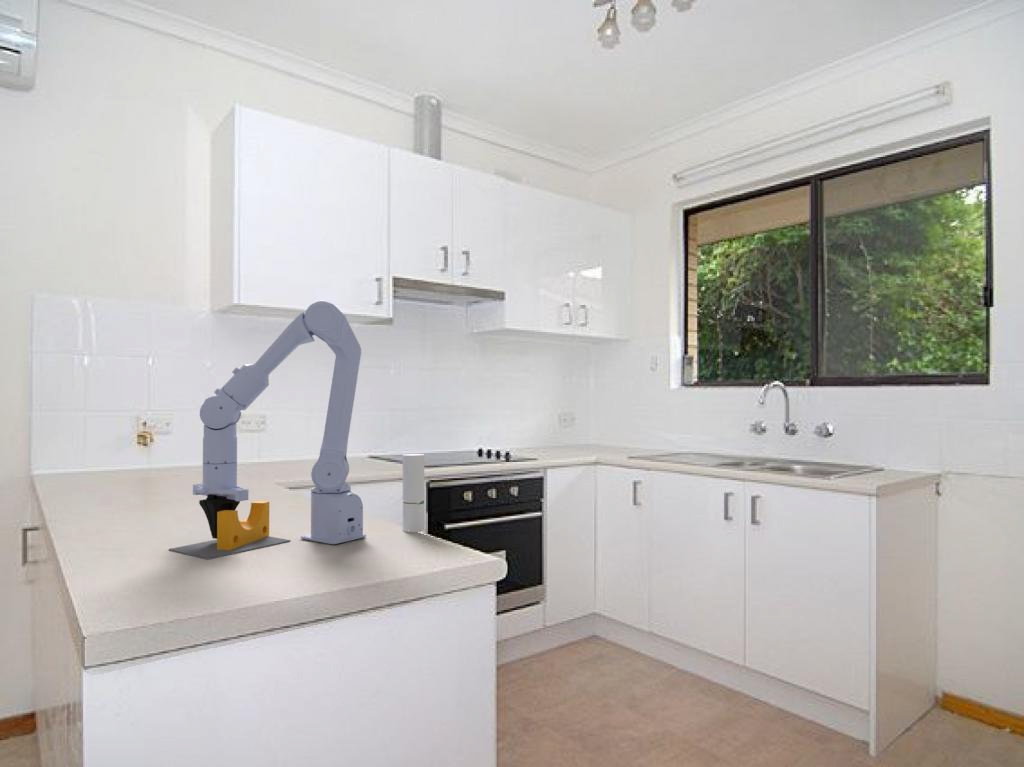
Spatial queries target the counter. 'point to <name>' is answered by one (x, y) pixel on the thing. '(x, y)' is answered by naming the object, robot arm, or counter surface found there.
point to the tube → (413, 492)
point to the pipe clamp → (242, 526)
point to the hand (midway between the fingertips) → (219, 537)
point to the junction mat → (210, 550)
